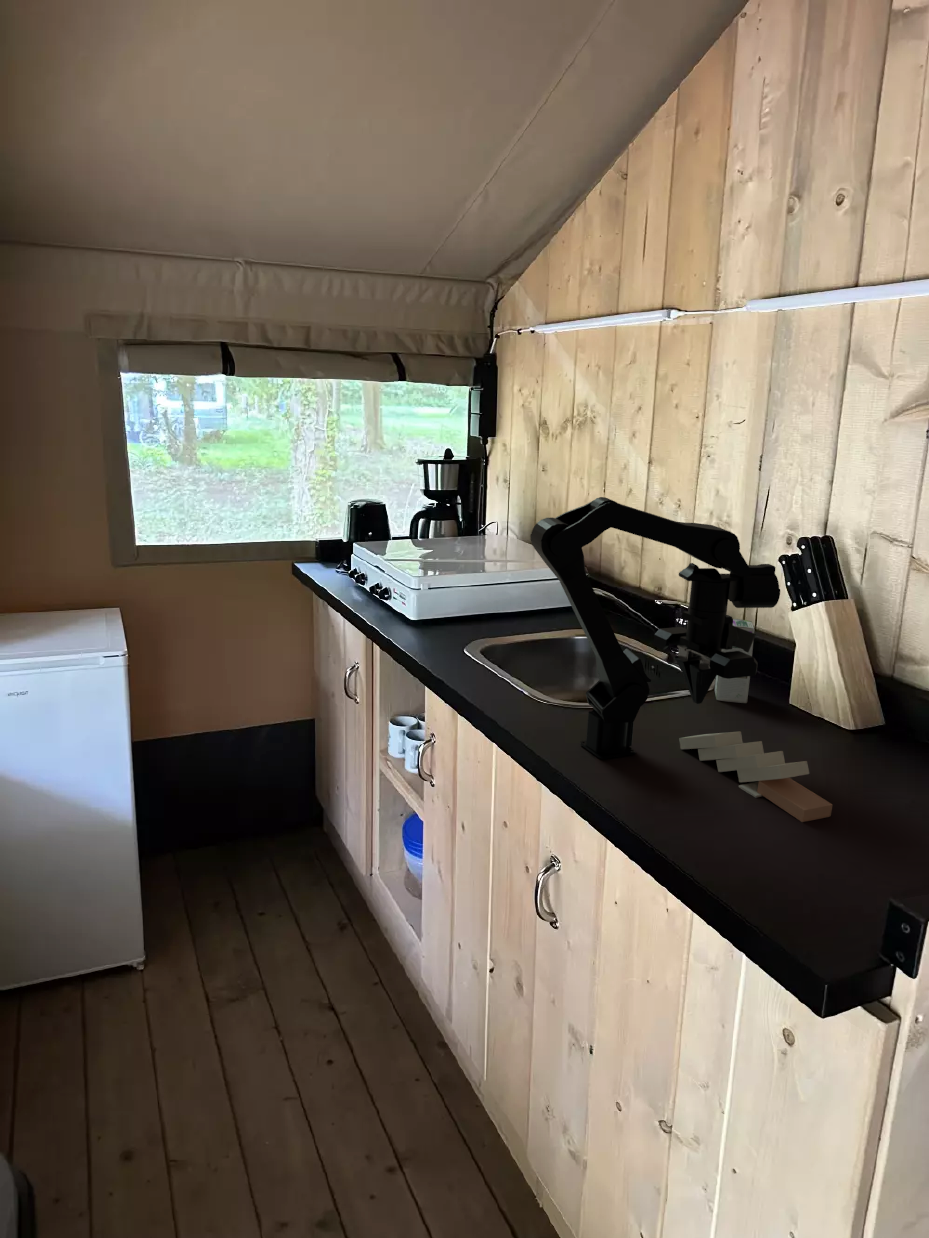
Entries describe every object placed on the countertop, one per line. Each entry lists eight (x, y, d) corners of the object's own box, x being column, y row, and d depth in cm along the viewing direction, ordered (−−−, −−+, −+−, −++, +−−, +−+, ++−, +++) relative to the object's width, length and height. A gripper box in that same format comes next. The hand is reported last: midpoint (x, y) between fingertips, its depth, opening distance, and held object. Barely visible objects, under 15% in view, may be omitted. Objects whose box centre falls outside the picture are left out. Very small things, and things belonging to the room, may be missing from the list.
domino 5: (784, 786, 132) (830, 816, 124) (757, 791, 130) (802, 822, 122) (786, 775, 131) (832, 804, 123) (758, 780, 129) (804, 810, 122)
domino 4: (766, 777, 135) (809, 773, 127) (739, 782, 133) (781, 778, 125) (763, 765, 135) (806, 760, 127) (736, 770, 133) (778, 765, 125)
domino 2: (725, 756, 143) (764, 753, 135) (699, 760, 141) (737, 757, 133) (723, 745, 143) (761, 741, 135) (697, 749, 141) (734, 745, 133)
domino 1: (706, 745, 147) (742, 743, 139) (680, 749, 145) (716, 747, 137) (704, 734, 147) (740, 731, 139) (678, 738, 145) (714, 735, 137)
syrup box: (747, 703, 167) (757, 628, 163) (714, 700, 168) (723, 625, 165) (744, 693, 173) (753, 620, 169) (712, 690, 174) (721, 617, 170)
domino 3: (744, 767, 139) (785, 763, 131) (718, 772, 137) (757, 767, 129) (742, 755, 139) (782, 750, 131) (716, 760, 137) (755, 755, 129)
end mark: (755, 797, 129) (755, 795, 129) (738, 787, 132) (738, 785, 132) (790, 790, 131) (790, 789, 131) (772, 780, 135) (772, 779, 134)
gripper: (791, 619, 135) (778, 717, 139) (711, 591, 152) (701, 679, 156) (732, 624, 131) (720, 726, 135) (655, 595, 147) (647, 686, 151)
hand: (697, 702), depth 144 cm, fingers closed
